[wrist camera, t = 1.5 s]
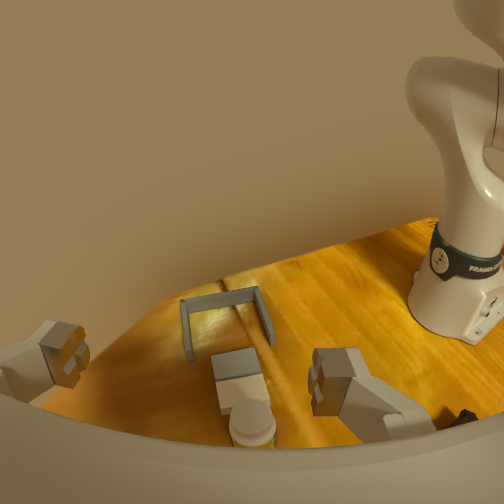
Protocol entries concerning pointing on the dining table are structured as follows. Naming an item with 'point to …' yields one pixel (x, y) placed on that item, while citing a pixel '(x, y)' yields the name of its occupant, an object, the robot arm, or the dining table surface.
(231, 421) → the supplement bottle
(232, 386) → the tile near
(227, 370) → the tile far
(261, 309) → the grey u-shaped frame
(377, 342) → the dining table surface
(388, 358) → the dining table surface
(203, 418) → the dining table surface
